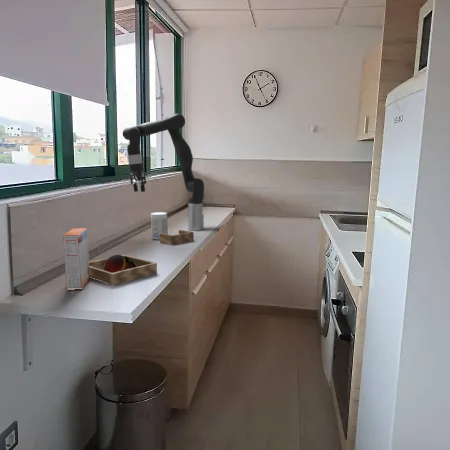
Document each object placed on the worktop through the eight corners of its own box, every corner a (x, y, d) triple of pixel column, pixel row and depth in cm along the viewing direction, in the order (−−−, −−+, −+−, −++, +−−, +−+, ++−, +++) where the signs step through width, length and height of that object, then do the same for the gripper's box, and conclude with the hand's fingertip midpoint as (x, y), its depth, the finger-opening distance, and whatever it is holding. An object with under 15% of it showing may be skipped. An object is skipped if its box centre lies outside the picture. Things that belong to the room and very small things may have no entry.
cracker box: (75, 279, 172) (72, 227, 169) (90, 279, 173) (88, 227, 169) (65, 291, 158) (61, 234, 155) (82, 290, 159) (79, 234, 155)
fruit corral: (124, 264, 195) (124, 254, 195) (156, 273, 181) (156, 263, 181) (80, 274, 179) (80, 264, 178) (112, 285, 165) (111, 274, 164)
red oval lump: (120, 290, 185) (93, 278, 174) (126, 263, 190) (101, 250, 180) (141, 287, 178) (115, 275, 168) (147, 259, 184) (122, 245, 173)
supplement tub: (166, 236, 261) (165, 211, 258) (169, 239, 252) (169, 214, 249) (149, 237, 257) (149, 212, 255) (152, 240, 249) (152, 214, 246)
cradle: (180, 238, 255) (180, 229, 254) (193, 240, 248) (193, 232, 247) (159, 242, 243) (159, 233, 242) (172, 245, 236) (172, 236, 235)
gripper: (147, 161, 241) (151, 190, 244) (135, 162, 252) (139, 190, 255) (135, 163, 236) (139, 192, 239) (123, 164, 247) (128, 192, 250)
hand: (139, 191), depth 247 cm, fingers open, 8 cm apart
